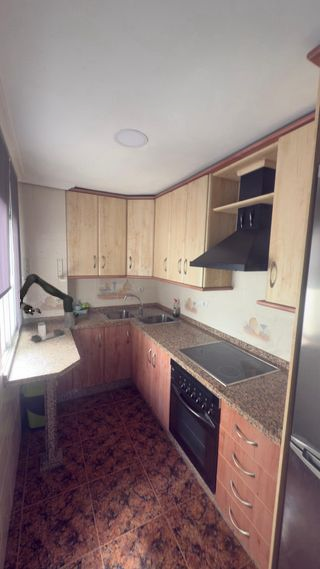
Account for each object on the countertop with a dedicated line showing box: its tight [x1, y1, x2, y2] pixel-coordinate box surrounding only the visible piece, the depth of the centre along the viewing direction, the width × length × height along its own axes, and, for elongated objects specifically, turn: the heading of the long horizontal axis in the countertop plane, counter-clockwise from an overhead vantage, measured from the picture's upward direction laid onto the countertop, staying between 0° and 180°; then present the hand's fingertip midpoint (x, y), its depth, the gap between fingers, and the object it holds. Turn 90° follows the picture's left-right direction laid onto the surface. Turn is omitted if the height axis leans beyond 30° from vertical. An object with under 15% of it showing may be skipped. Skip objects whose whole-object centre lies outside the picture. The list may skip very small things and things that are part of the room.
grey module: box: [37, 321, 47, 336], centre depth 230 cm, size 5×5×12 cm
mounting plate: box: [29, 328, 67, 346], centre depth 223 cm, size 28×14×4 cm, turn 140°
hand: (36, 313), depth 233 cm, fingers open, 8 cm apart
